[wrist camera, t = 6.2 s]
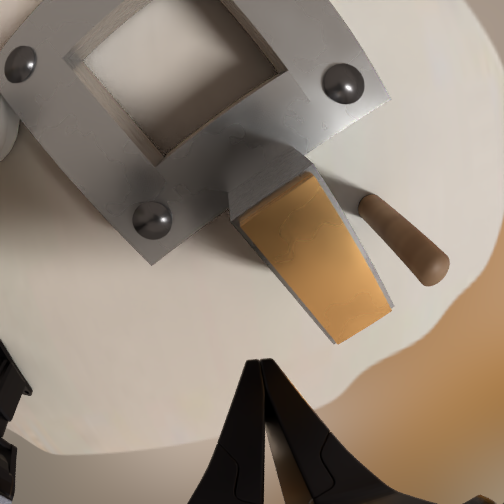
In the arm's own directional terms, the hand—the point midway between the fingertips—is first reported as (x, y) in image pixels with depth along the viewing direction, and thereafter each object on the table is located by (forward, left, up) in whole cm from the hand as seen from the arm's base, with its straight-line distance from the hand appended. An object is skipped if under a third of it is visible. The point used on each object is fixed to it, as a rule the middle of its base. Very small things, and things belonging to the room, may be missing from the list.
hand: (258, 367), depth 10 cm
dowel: (+7, +2, -7) cm, 10 cm away
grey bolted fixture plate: (-1, +7, -7) cm, 10 cm away
